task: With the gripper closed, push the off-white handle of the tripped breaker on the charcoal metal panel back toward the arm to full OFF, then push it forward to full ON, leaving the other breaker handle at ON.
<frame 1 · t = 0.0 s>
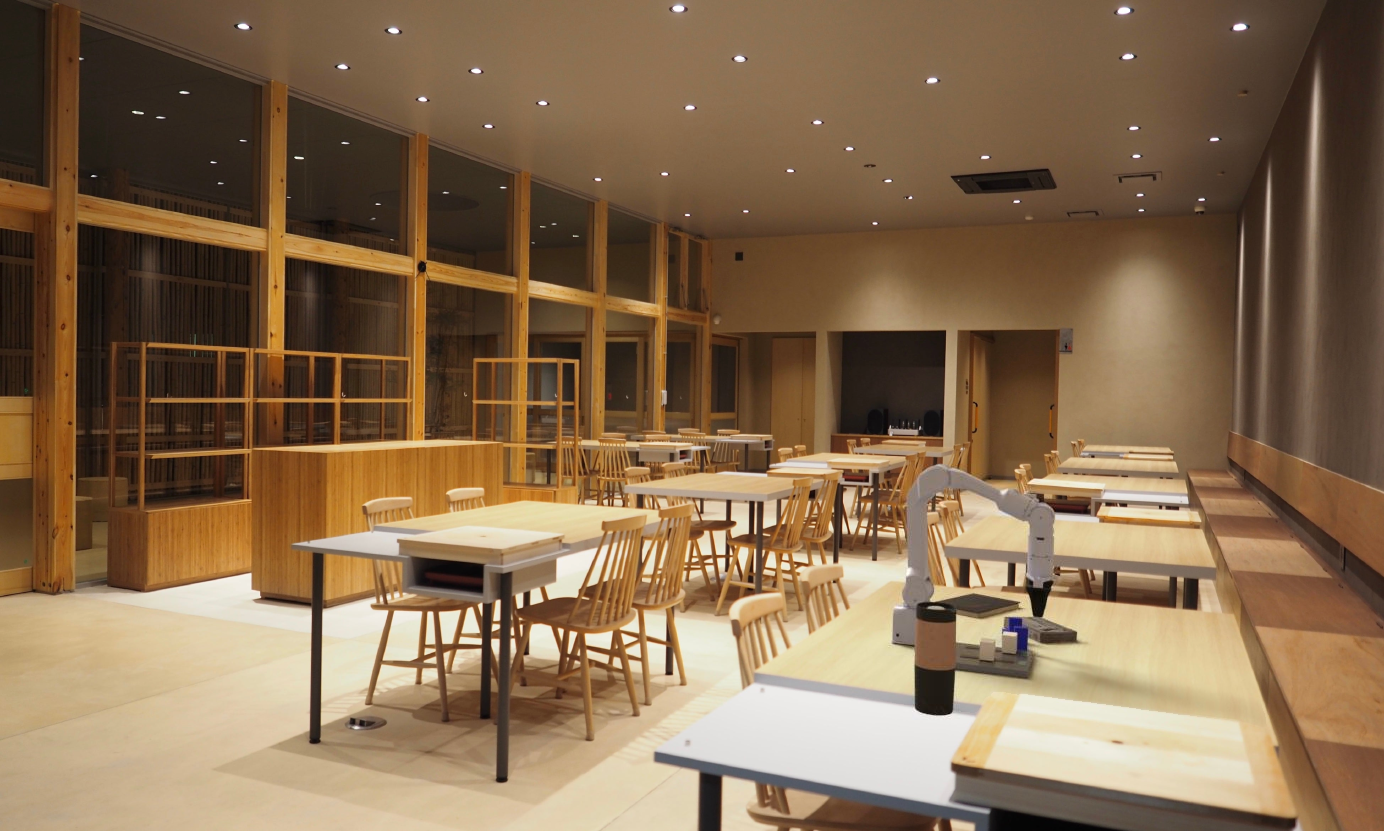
hand: (1039, 613, 227), 10 cm above the table, fingers open, 7 cm apart
breaker panel: (988, 662, 221), on the table
hardcover book: (974, 610, 280), on the table
tripped breaker: (987, 649, 218), point 4 cm above the table, slide at 0.0 cm
on breaker: (1009, 642, 225), point 4 cm above the table, slide at 4.0 cm
cable clip: (1014, 647, 237), on the table
grey flat block: (1039, 636, 250), on the table
travel mug: (933, 710, 186), on the table
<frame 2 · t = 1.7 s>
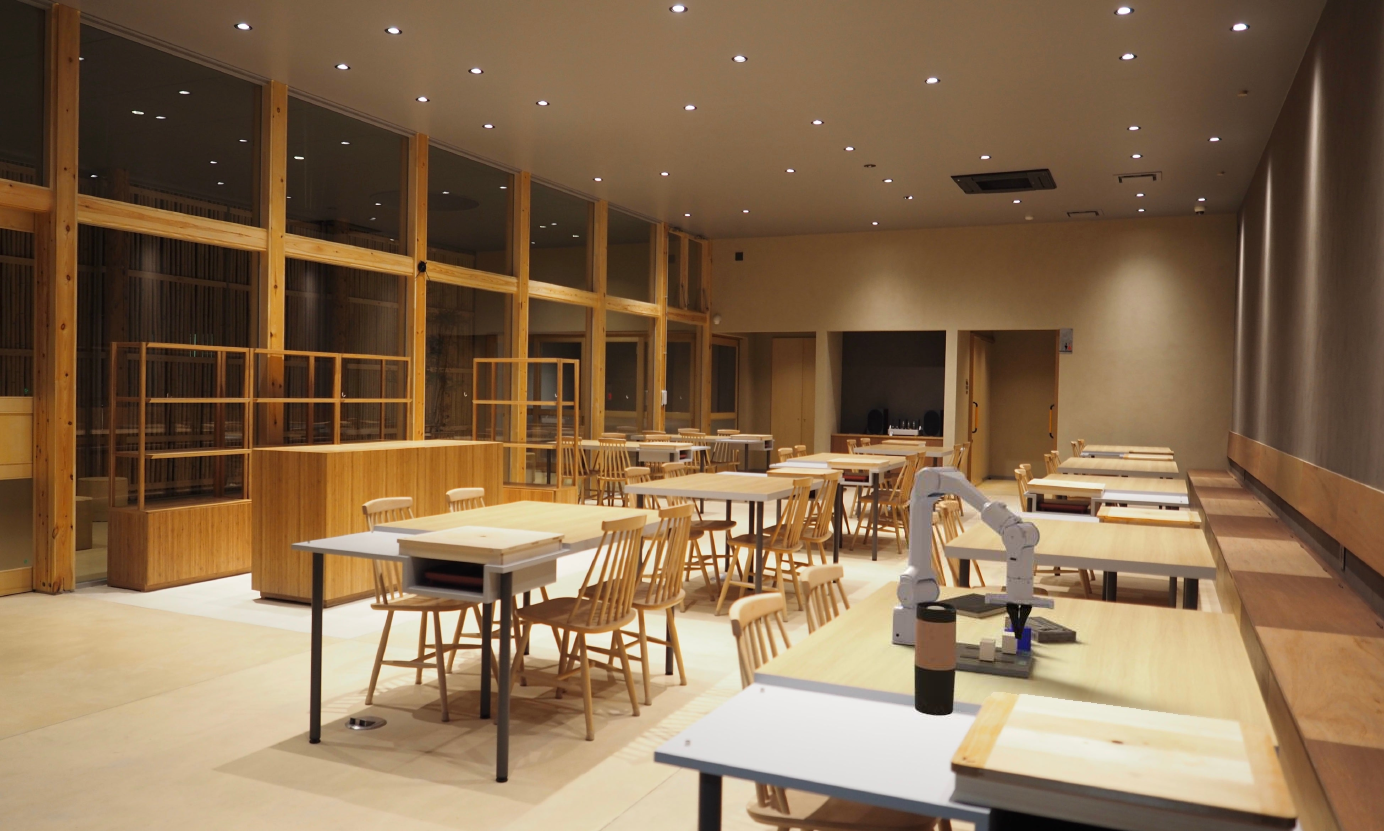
hand: (1018, 638, 215), 7 cm above the table, fingers closed
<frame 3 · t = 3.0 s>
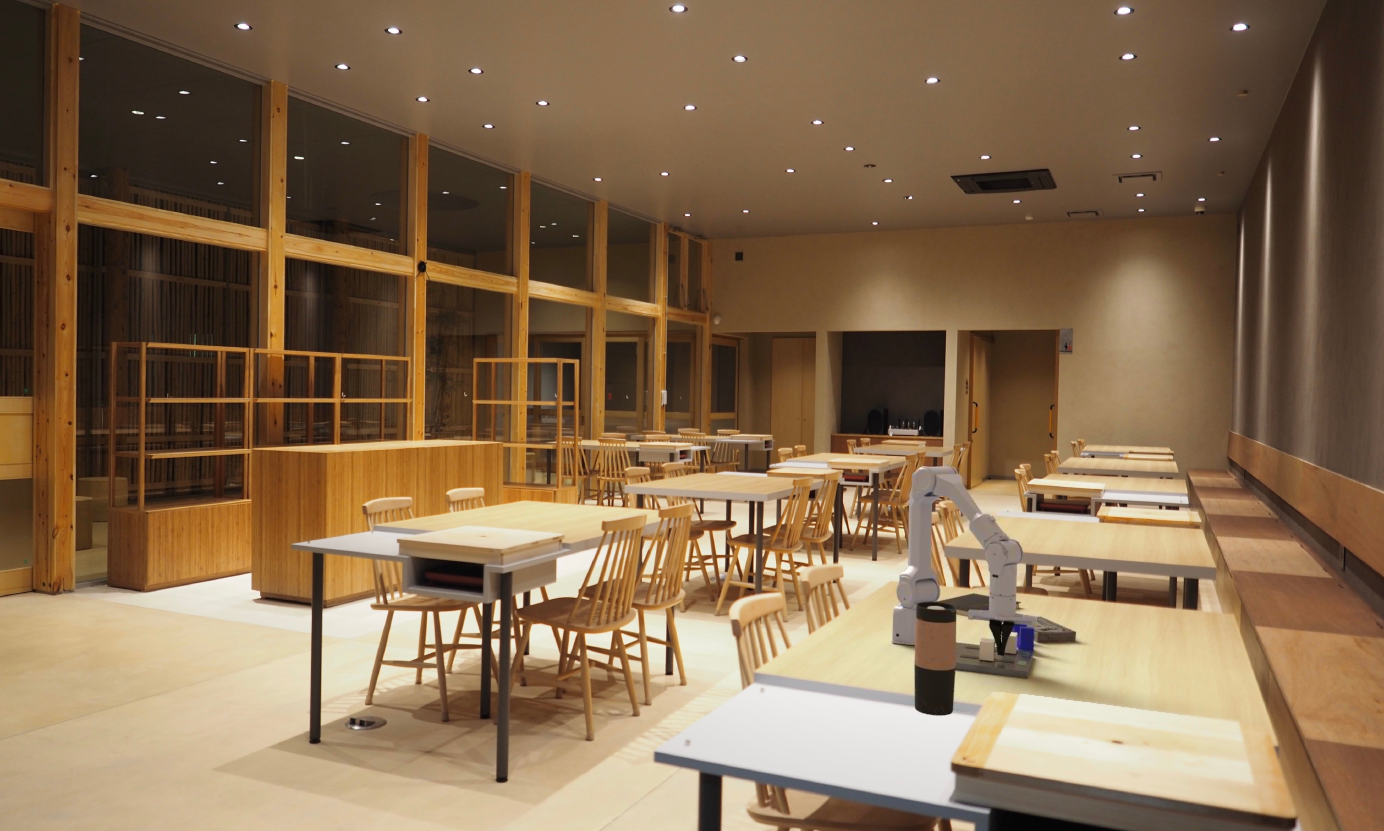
hand: (1001, 654, 217), 3 cm above the table, fingers closed
tripped breaker: (987, 649, 218), point 4 cm above the table, slide at 0.0 cm, touching gripper
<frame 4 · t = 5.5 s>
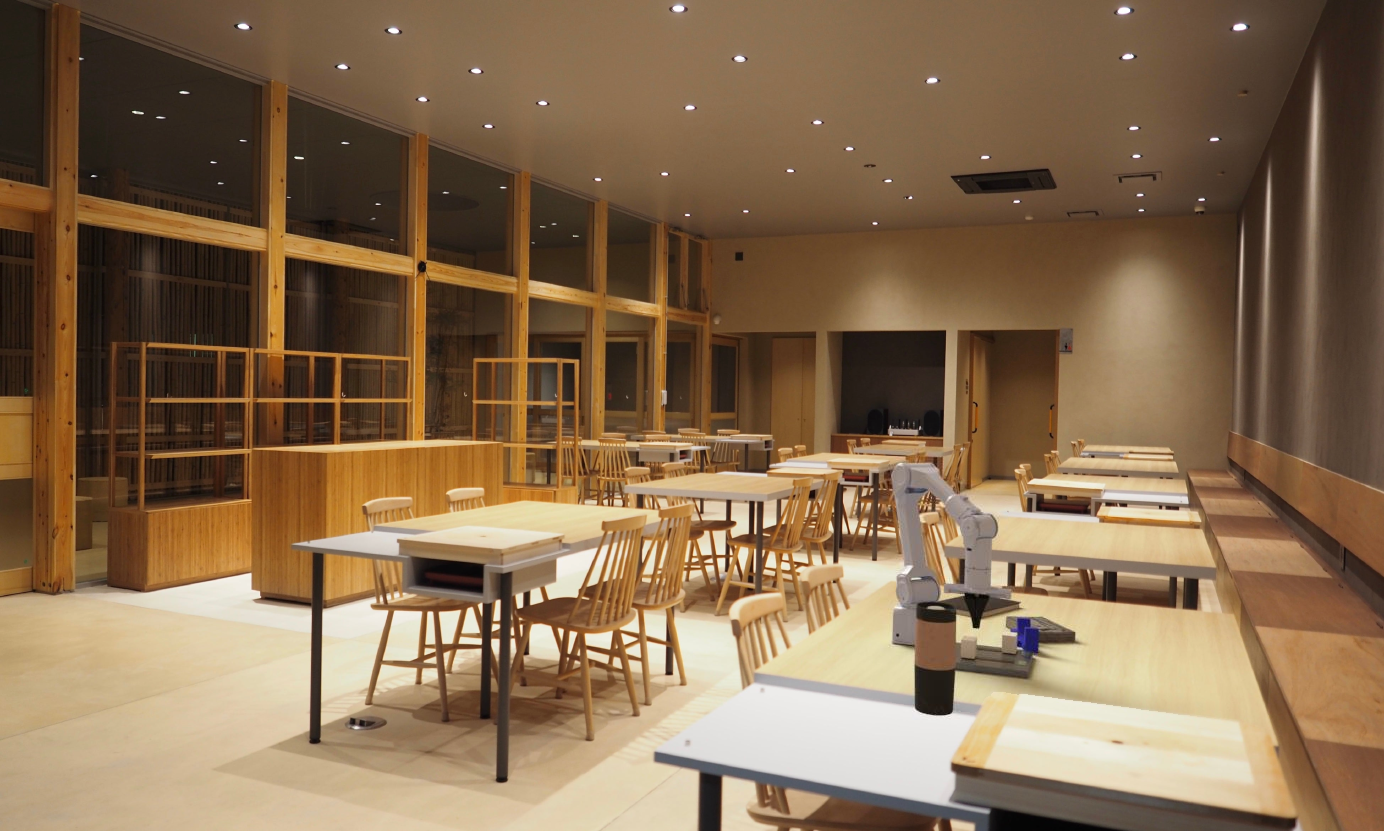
hand: (976, 627, 219), 8 cm above the table, fingers closed
tripped breaker: (968, 647, 220), point 4 cm above the table, slide at -4.1 cm
cable clip: (1023, 648, 236), on the table
everything else where it was.
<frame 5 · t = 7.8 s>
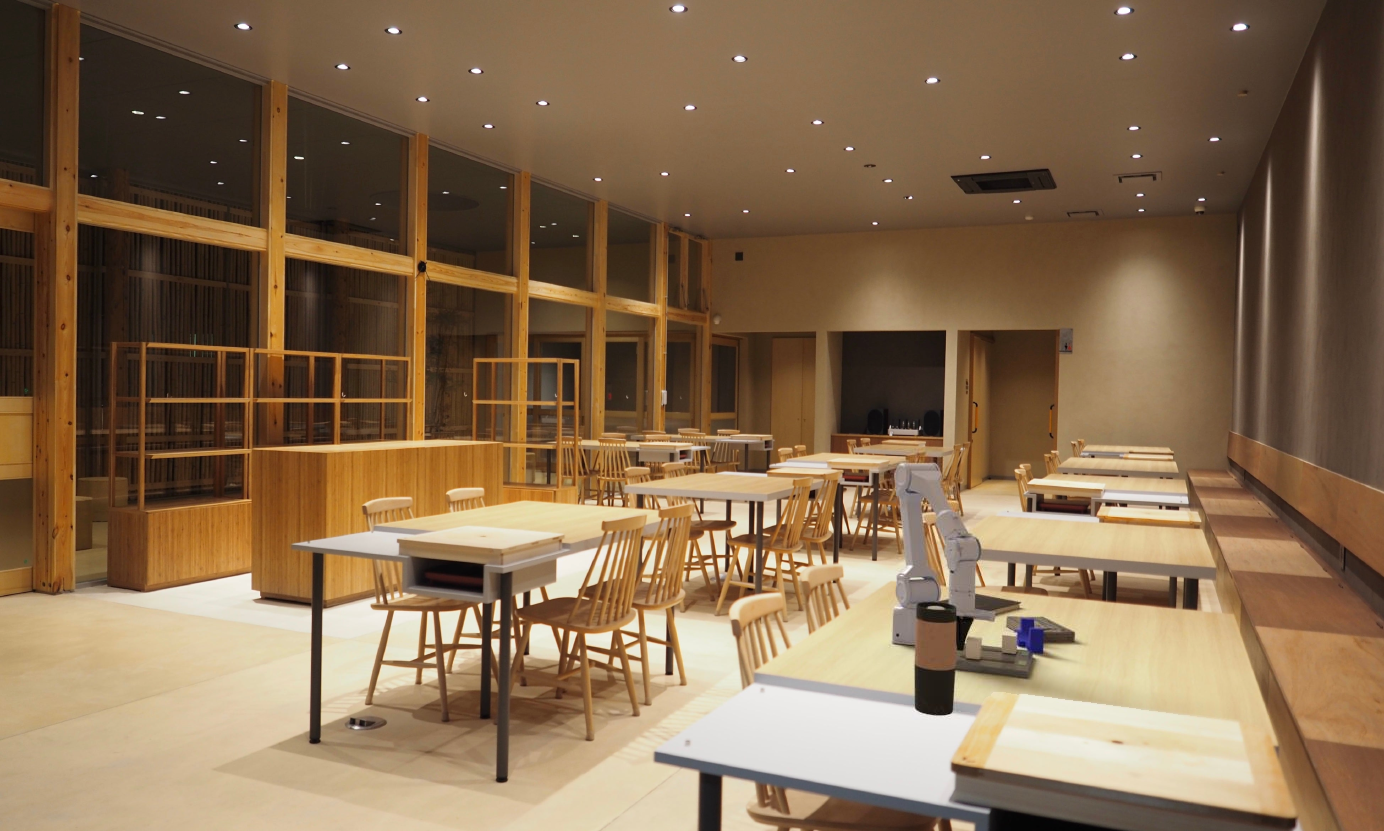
hand: (960, 649, 220), 3 cm above the table, fingers closed
tripped breaker: (973, 647, 219), point 4 cm above the table, slide at -2.9 cm, touching gripper
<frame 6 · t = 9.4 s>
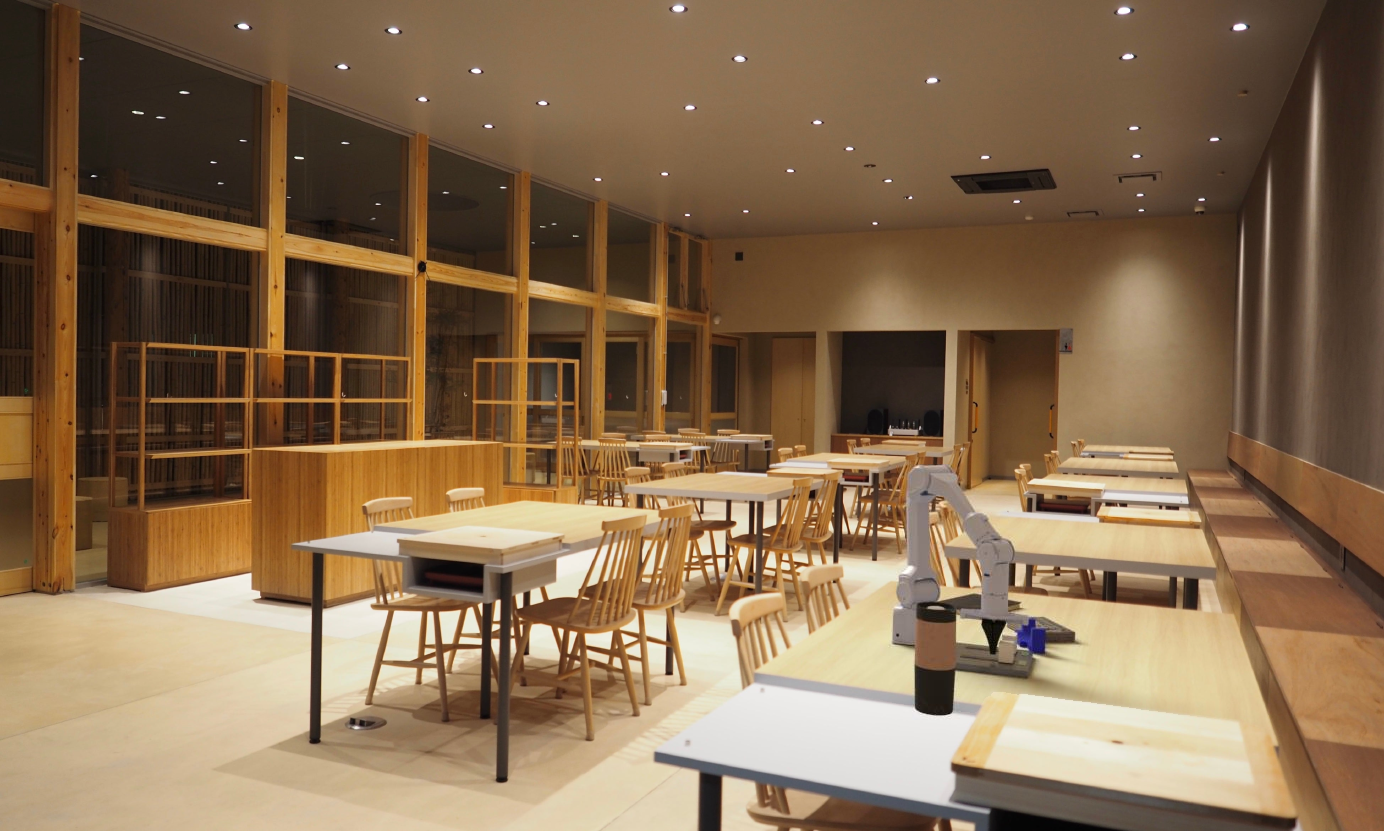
hand: (993, 653, 217), 3 cm above the table, fingers closed
tripped breaker: (1006, 651, 216), point 4 cm above the table, slide at 4.1 cm, touching gripper
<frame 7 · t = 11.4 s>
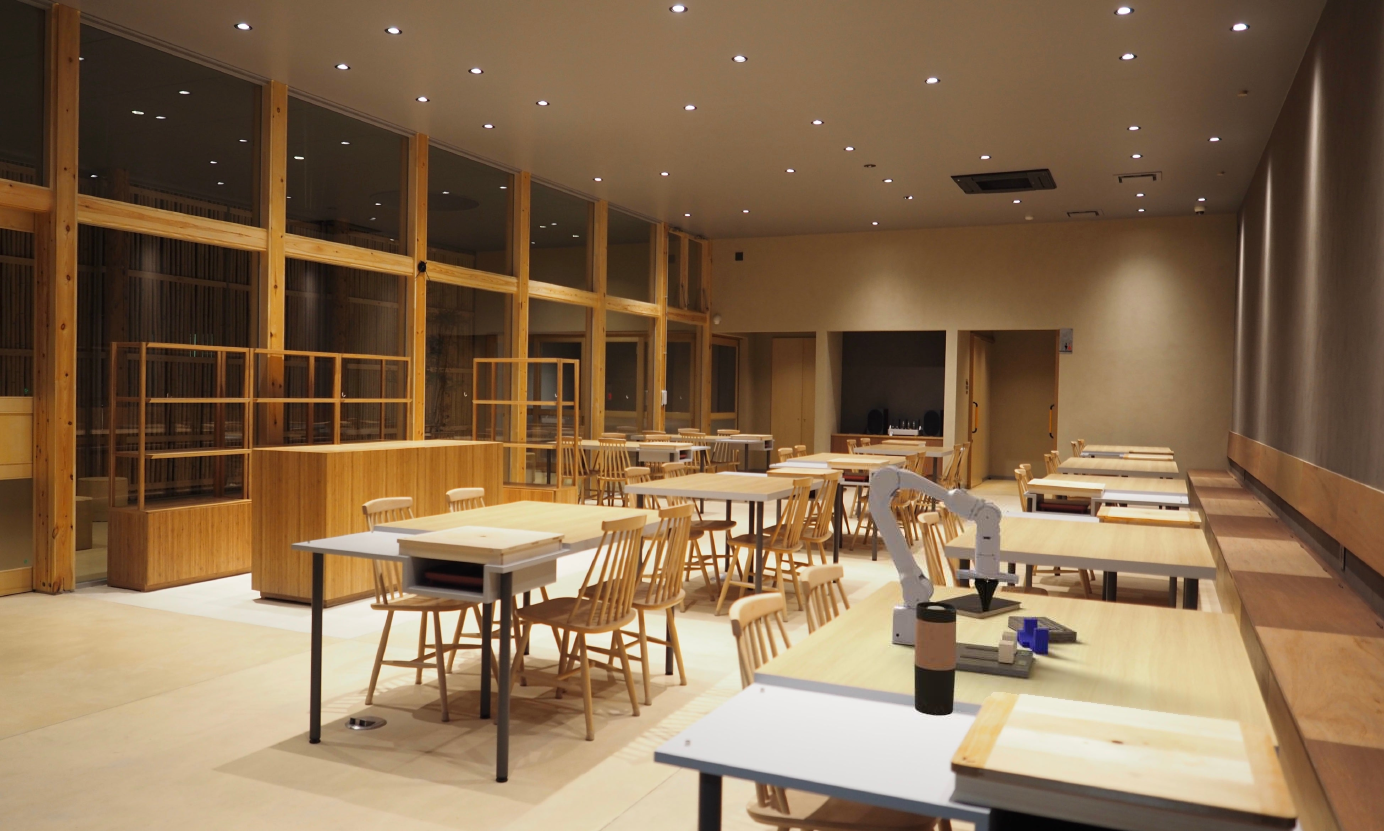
hand: (985, 610, 232), 9 cm above the table, fingers closed
tripped breaker: (1006, 651, 216), point 4 cm above the table, slide at 4.1 cm
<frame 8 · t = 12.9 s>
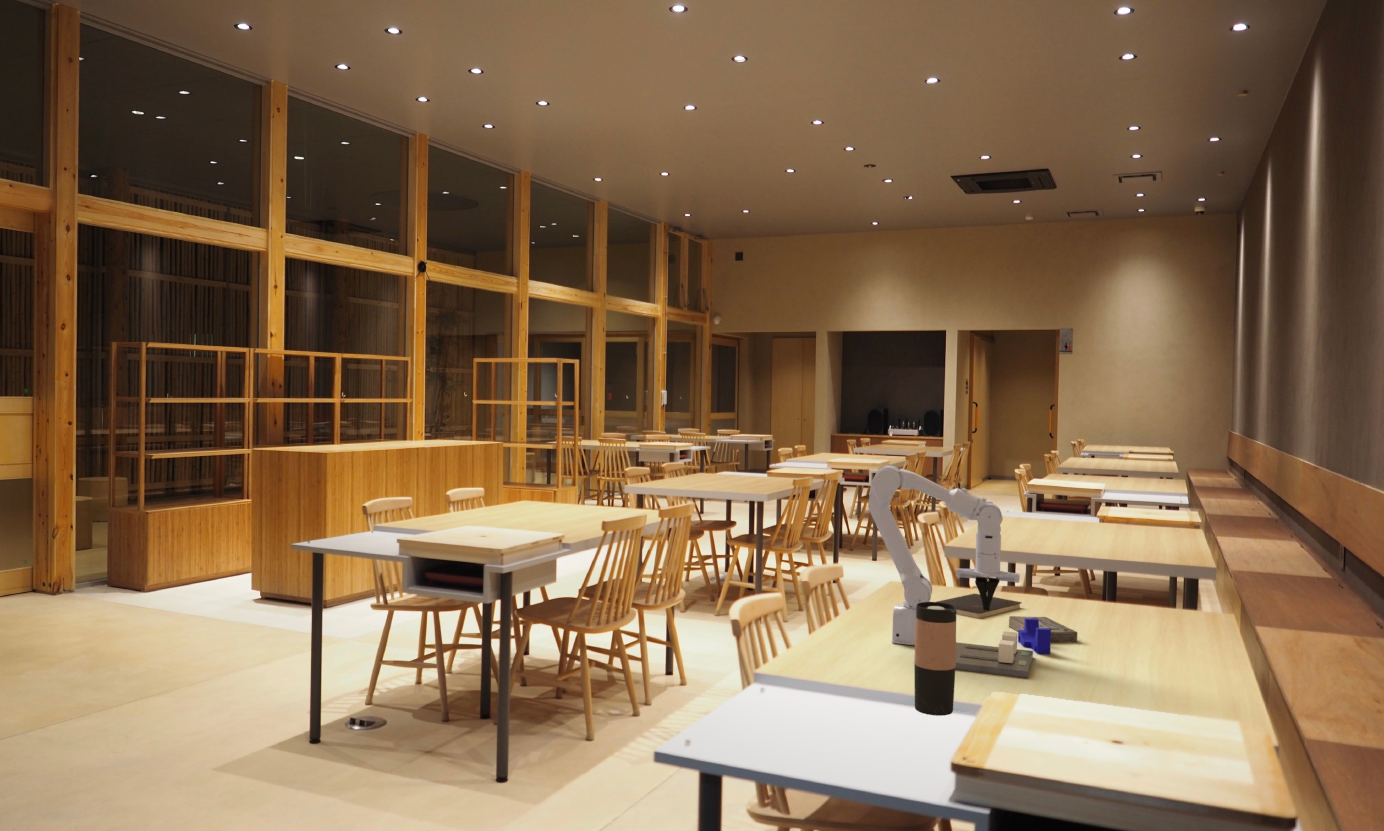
hand: (986, 609, 233), 9 cm above the table, fingers closed
at the end: tripped breaker slide at 4.1 cm; on breaker slide at 4.0 cm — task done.
